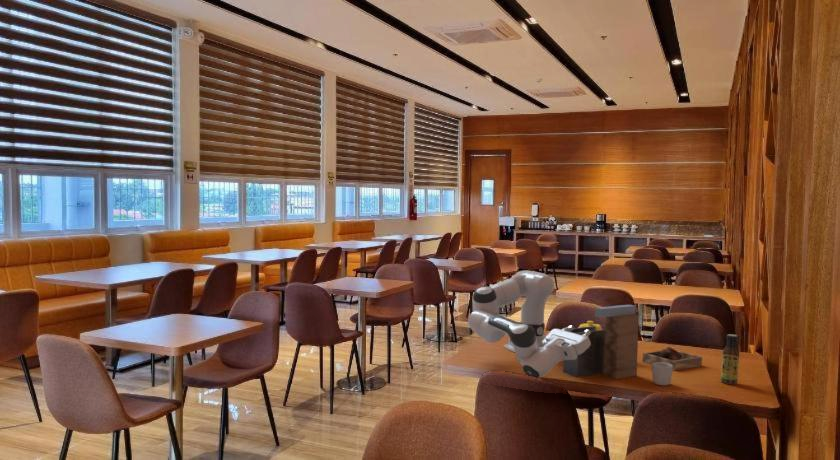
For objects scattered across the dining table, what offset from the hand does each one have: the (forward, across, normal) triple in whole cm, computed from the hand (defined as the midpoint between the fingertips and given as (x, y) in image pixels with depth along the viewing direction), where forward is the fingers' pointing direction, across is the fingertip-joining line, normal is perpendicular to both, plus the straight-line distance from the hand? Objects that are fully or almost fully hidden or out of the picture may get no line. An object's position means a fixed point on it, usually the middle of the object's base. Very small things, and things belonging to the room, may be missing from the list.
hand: (580, 328), depth 259 cm
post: (+9, 0, -30) cm, 32 cm away
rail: (+19, 0, -6) cm, 20 cm away
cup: (+14, +16, -34) cm, 40 cm away
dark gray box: (+1, -10, -26) cm, 28 cm away
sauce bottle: (+37, +28, -47) cm, 66 cm away
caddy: (+41, -4, -49) cm, 64 cm away
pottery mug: (+41, -6, -49) cm, 64 cm away
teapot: (+35, -46, -46) cm, 74 cm away
